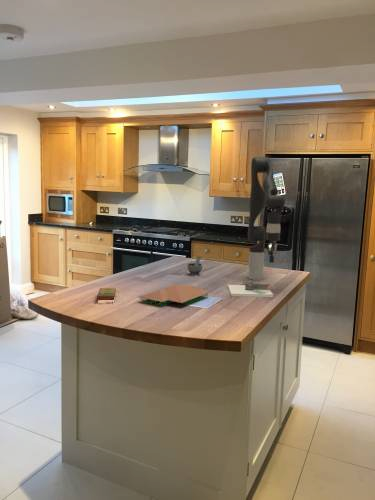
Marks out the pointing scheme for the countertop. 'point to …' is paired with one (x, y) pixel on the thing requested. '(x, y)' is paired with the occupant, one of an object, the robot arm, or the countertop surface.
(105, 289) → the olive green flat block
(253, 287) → the metal serving spoon
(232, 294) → the dial plate
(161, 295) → the wooden board
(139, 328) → the countertop surface
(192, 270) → the mortar and pestle
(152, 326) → the countertop surface
